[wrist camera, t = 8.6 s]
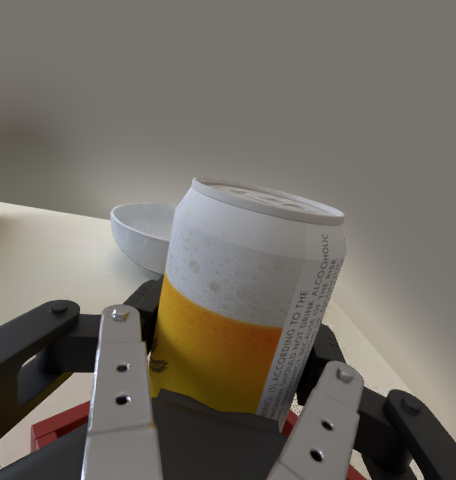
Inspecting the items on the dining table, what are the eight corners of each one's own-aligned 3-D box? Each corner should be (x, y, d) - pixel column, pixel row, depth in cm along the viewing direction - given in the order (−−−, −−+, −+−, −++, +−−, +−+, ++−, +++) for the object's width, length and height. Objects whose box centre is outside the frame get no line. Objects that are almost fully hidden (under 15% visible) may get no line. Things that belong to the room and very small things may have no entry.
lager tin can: (191, 412, 18) (247, 180, 14) (271, 491, 15) (376, 217, 11) (100, 486, 13) (142, 167, 9) (187, 627, 10) (317, 226, 6)
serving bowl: (232, 247, 54) (240, 212, 52) (272, 307, 35) (288, 256, 33) (117, 233, 48) (121, 193, 46) (90, 295, 29) (95, 233, 27)
